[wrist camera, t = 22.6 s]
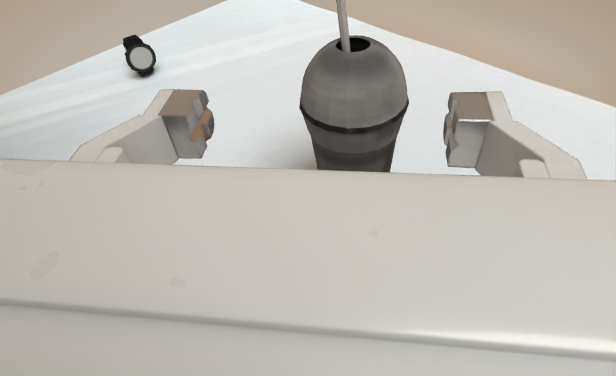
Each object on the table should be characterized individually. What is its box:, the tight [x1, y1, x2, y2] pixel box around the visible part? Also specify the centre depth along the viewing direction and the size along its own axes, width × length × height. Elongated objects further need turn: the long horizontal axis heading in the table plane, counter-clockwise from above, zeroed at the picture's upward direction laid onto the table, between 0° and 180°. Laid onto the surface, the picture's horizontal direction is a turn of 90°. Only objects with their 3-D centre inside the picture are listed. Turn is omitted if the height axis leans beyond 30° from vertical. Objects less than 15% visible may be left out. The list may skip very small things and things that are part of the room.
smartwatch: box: [123, 35, 156, 76], centre depth 55 cm, size 4×5×5 cm
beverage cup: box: [300, 0, 409, 173], centre depth 29 cm, size 7×7×20 cm
